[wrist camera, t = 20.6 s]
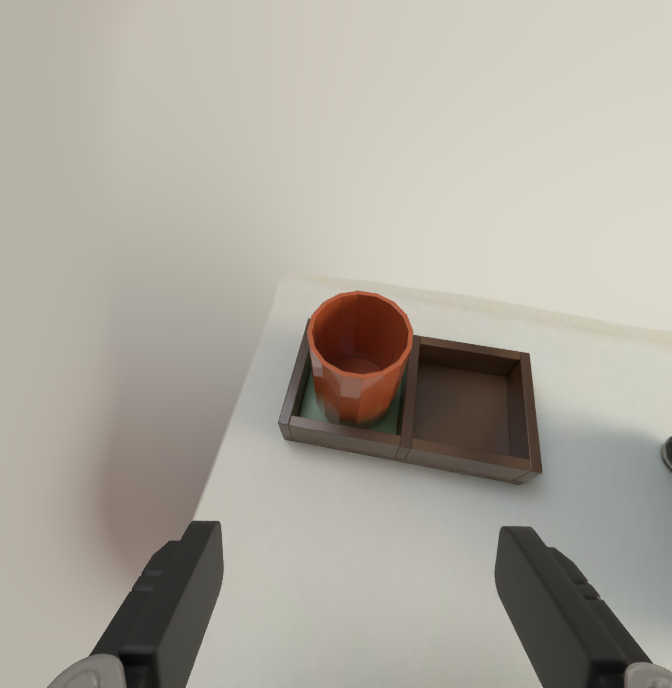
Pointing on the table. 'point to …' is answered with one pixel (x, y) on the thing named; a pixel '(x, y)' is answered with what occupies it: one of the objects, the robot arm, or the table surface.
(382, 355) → the cup
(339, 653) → the table surface
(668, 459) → the camera
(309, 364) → the holder
